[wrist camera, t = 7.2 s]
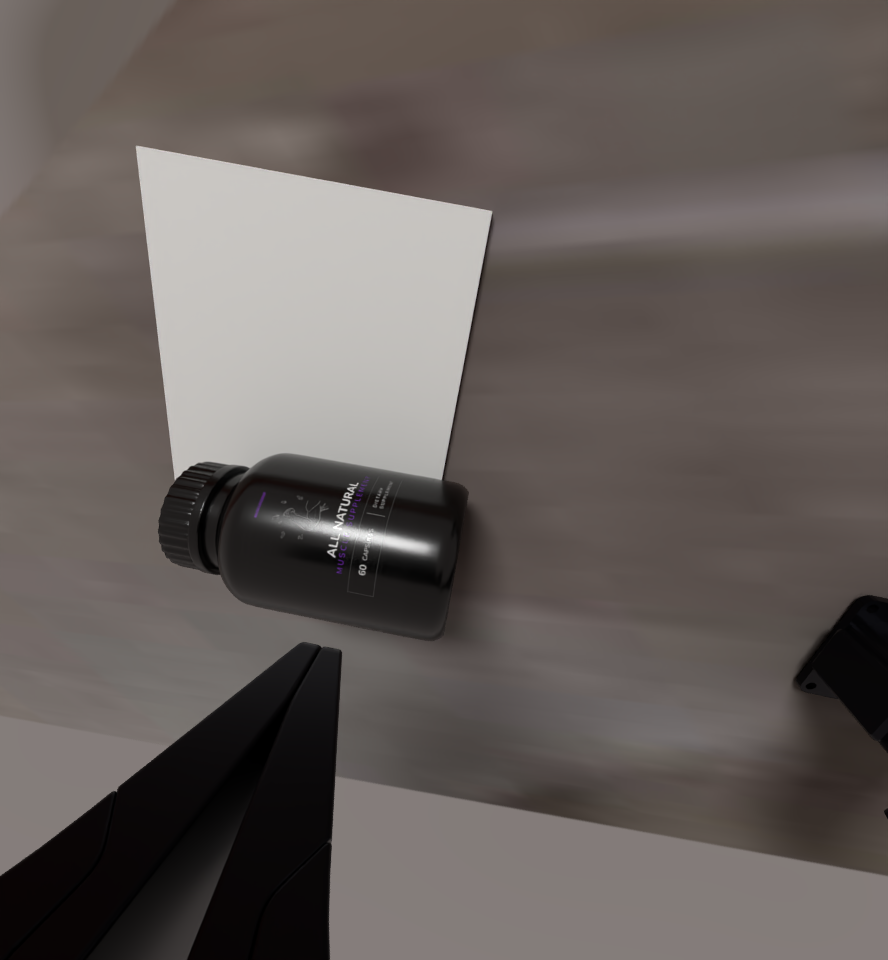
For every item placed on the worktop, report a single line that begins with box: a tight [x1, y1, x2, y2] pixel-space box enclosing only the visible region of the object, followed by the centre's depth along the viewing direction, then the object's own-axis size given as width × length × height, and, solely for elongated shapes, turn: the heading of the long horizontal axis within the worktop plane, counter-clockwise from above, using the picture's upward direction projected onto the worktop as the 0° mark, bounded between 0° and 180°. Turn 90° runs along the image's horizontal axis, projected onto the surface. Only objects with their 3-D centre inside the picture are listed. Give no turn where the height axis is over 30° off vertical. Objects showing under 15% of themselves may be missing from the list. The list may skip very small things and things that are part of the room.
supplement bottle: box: [158, 453, 469, 641], centre depth 18 cm, size 7×7×12 cm
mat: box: [136, 146, 492, 480], centre depth 20 cm, size 14×20×1 cm
